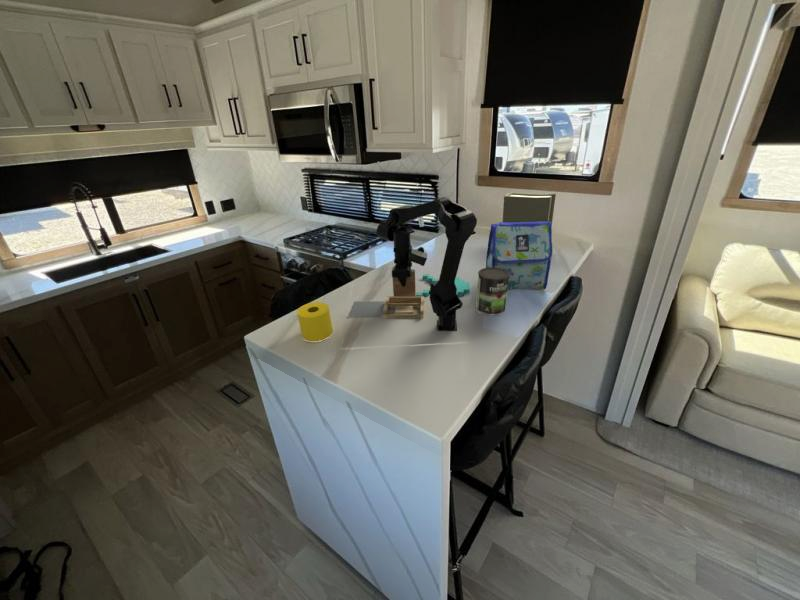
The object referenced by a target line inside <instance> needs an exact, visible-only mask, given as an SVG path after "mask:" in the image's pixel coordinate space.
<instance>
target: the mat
mask: <svg viewBox="0 0 800 600" xmlns="http://www.w3.org/2000/svg"><path fill="white" fill-rule="evenodd" d="M385 302H386V300H385V301H378V300H377V301H360V300H358V301H353V304H352V305H351V307H350V308H351V309H350V311H349V312H348V313H349V314H347V315H348V316H347V319H349V318H352V319H353V318H356V319H357V318H359V319H360V318H361V319H362V318H363V319H364V318H370V319H372V318H373V319H374V318H375V319H376V318H378V319H380V318H382V316H383V310H384V306H385Z"/></svg>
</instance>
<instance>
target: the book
mask: <svg viewBox="0 0 800 600" xmlns="http://www.w3.org/2000/svg"><path fill="white" fill-rule="evenodd" d="M556 196H557V195H556V192H555V193H554V192H553V193H530V192H528V193H527V192H507V193H506V194H505V195H504V196H503V207H502V208H503V209H502V222H505V223H520V222H551V226H552V225H553V219H554V212H555V211H554V210H555V204H556V203H555V202H556Z"/></svg>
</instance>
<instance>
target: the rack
mask: <svg viewBox="0 0 800 600" xmlns="http://www.w3.org/2000/svg"><path fill="white" fill-rule="evenodd" d="M396 306H413V309H419V310H420V311H419V312H420V313H414V314H394V313H389V309H395V307H396ZM424 310H425V296H415V297H394V295H393V296H391V295H390V296H386V299H385V303H384V307H383V311H382V316H383V318H385V319H386V318H387V319H388V318H391V319H392V318H401V319H402V318H405V319H407V318H409V319H410V318H415V319H417V318H418V319H419V318H421V319H422V318H424V314H425V311H424Z"/></svg>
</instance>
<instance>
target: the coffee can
mask: <svg viewBox="0 0 800 600" xmlns="http://www.w3.org/2000/svg"><path fill="white" fill-rule="evenodd" d="M477 274H478V279H477V295H476V307H475V308H476V311H477V312H478V313H479V312H480V313H479V314H480V315H484V316H488V317H496V316H501V315H503V314H504V313H505V312H506V305H507V296H508V295H507V294H508V290H507V288H508V279H509V272H508V271H506V270H504V269H501V268H486V267H484V268H482V269H479V271H478V273H477Z"/></svg>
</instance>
